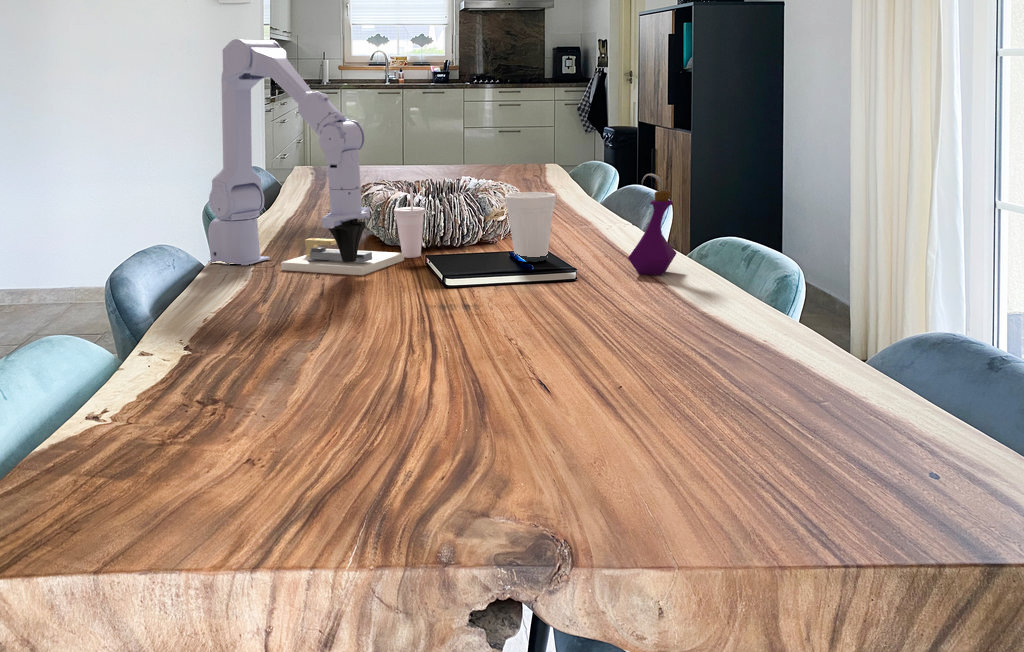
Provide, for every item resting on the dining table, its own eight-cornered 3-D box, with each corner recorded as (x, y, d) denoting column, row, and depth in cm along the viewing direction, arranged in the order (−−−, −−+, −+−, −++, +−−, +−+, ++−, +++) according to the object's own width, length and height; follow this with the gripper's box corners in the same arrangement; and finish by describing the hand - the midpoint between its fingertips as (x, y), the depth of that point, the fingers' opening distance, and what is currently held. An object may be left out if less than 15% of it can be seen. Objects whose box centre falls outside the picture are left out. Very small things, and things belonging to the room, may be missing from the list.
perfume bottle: (676, 270, 186) (678, 171, 182) (669, 277, 179) (670, 175, 175) (636, 268, 189) (637, 171, 184) (627, 275, 182) (628, 175, 177)
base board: (281, 270, 194) (280, 261, 194) (327, 256, 208) (326, 247, 208) (362, 275, 187) (361, 266, 187) (404, 260, 202) (403, 251, 201)
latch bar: (308, 258, 194) (307, 248, 194) (317, 256, 197) (316, 246, 196) (364, 262, 189) (363, 252, 189) (372, 259, 192) (371, 249, 192)
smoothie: (422, 259, 203) (419, 189, 199) (391, 258, 204) (388, 189, 201) (430, 253, 209) (428, 185, 205) (401, 253, 210) (398, 185, 207)
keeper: (306, 256, 200) (304, 239, 199) (311, 254, 202) (310, 238, 201) (331, 257, 198) (330, 240, 197) (337, 255, 200) (336, 239, 199)
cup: (566, 259, 199) (565, 193, 196) (540, 268, 191) (539, 198, 188) (523, 255, 204) (522, 190, 201) (495, 263, 196) (494, 196, 193)
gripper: (344, 193, 177) (349, 269, 180) (382, 184, 190) (386, 255, 193) (309, 192, 179) (314, 267, 183) (349, 183, 193) (353, 254, 196)
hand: (349, 261), depth 188 cm, fingers closed
